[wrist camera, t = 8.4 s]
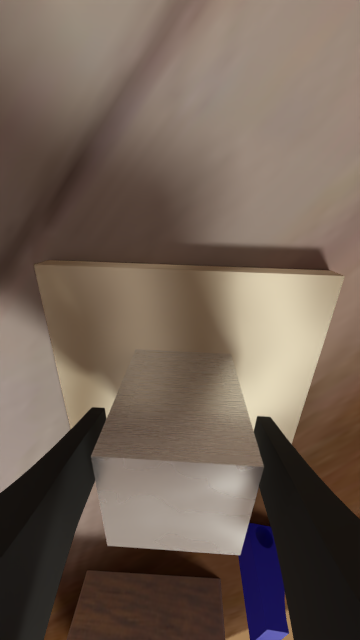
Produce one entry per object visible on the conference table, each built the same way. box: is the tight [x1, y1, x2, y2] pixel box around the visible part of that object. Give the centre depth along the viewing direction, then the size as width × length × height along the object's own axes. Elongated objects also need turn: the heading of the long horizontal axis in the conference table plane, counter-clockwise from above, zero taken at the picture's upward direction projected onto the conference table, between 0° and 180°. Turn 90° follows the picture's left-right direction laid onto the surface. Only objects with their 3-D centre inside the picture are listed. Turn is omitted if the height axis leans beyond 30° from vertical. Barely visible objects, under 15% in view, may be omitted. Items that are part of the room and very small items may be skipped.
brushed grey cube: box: [91, 349, 264, 555], centre depth 10 cm, size 5×5×6 cm
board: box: [34, 260, 345, 444], centre depth 14 cm, size 14×14×1 cm
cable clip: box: [238, 523, 289, 640], centre depth 18 cm, size 12×4×6 cm, turn 76°
